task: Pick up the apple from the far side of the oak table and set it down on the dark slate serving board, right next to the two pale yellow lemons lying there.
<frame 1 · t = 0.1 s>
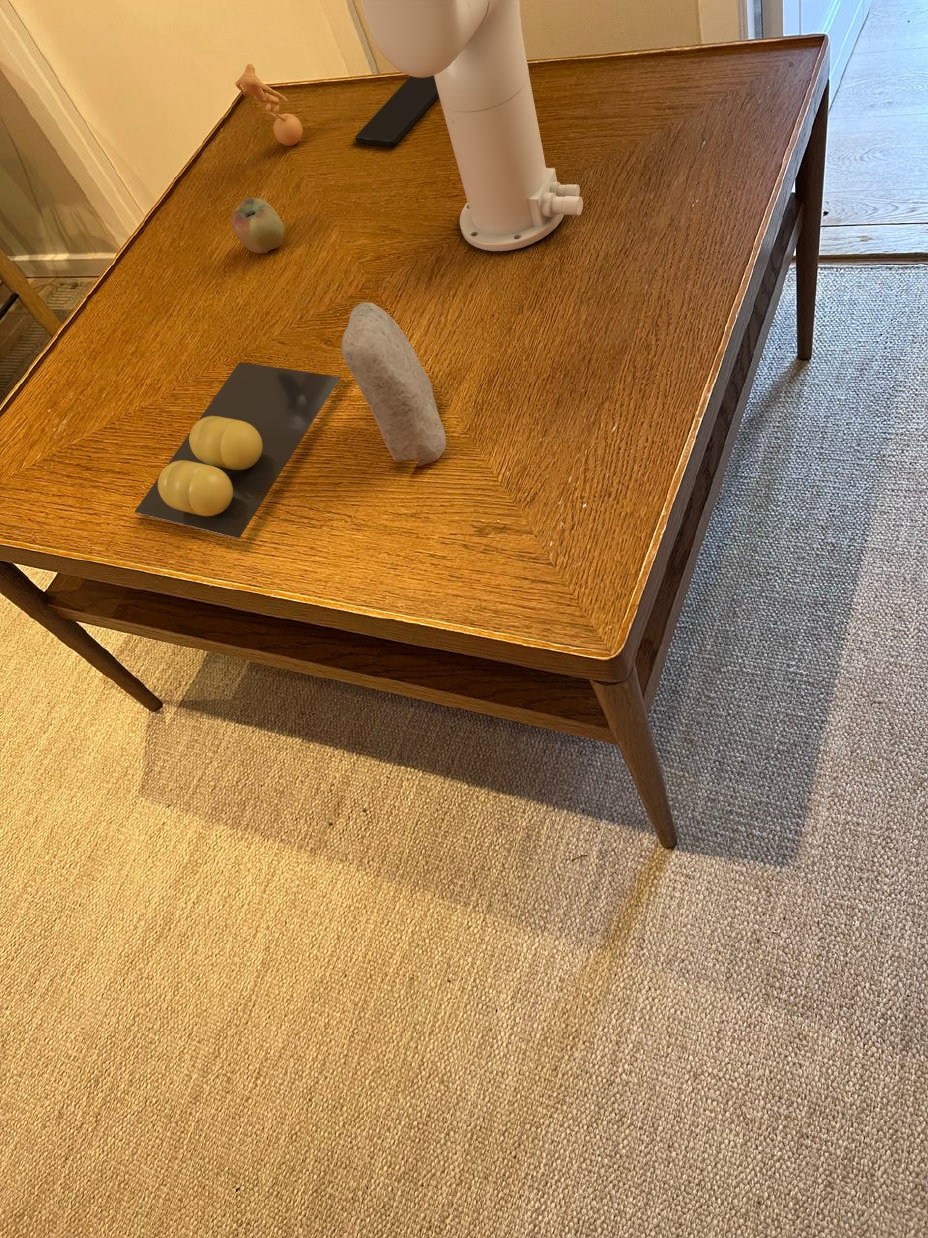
decorative stone: (418, 430, 93), on the table
lemon b: (236, 459, 95), point 1 cm above the table, touching serving board
smartphone: (404, 113, 125), on the table
figurine: (289, 148, 128), on the table
serving board: (245, 452, 97), on the table
apple: (265, 246, 117), on the table
lemon a: (207, 503, 92), point 1 cm above the table, touching serving board
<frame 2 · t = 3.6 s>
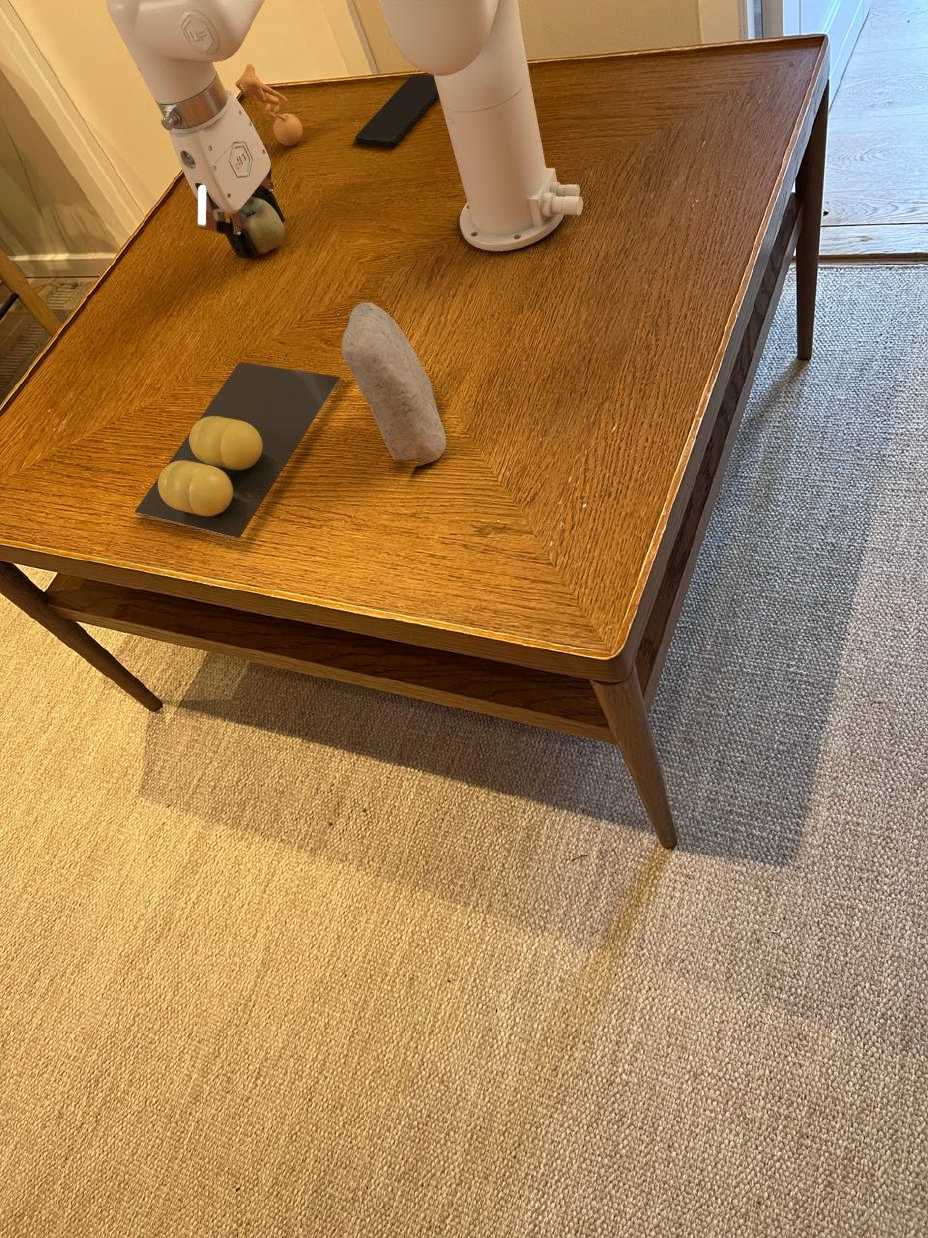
hand: (261, 237, 116), 1 cm above the table, tool pointing down, fingers closed on apple, 6 cm apart
apple: (265, 245, 117), on the table, touching gripper
everything else where it was.
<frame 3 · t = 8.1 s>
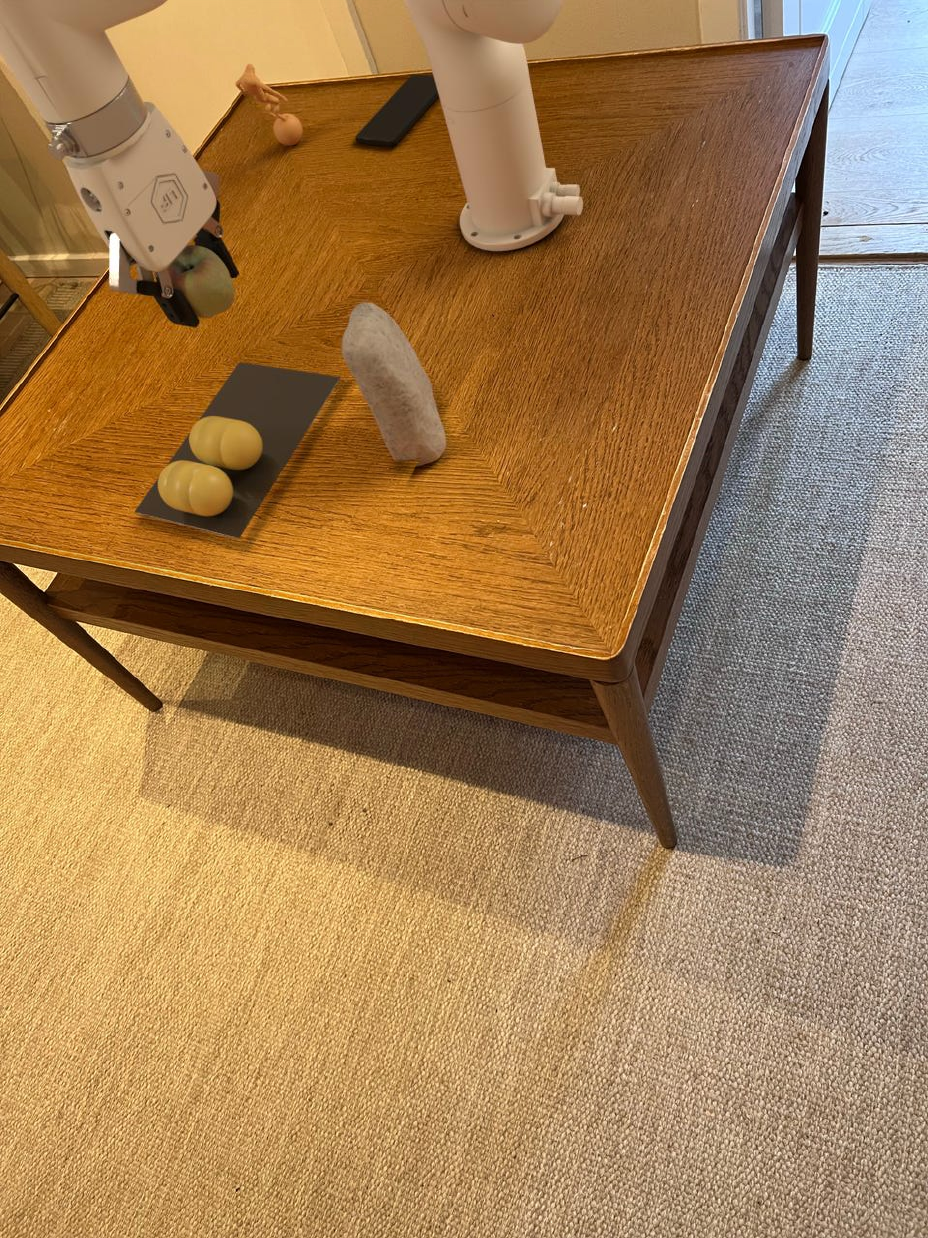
hand: (206, 297, 87), 15 cm above the table, tool pointing down, fingers closed on apple, 6 cm apart
apple: (212, 307, 88), point 14 cm above the table, touching gripper
everything else where it was.
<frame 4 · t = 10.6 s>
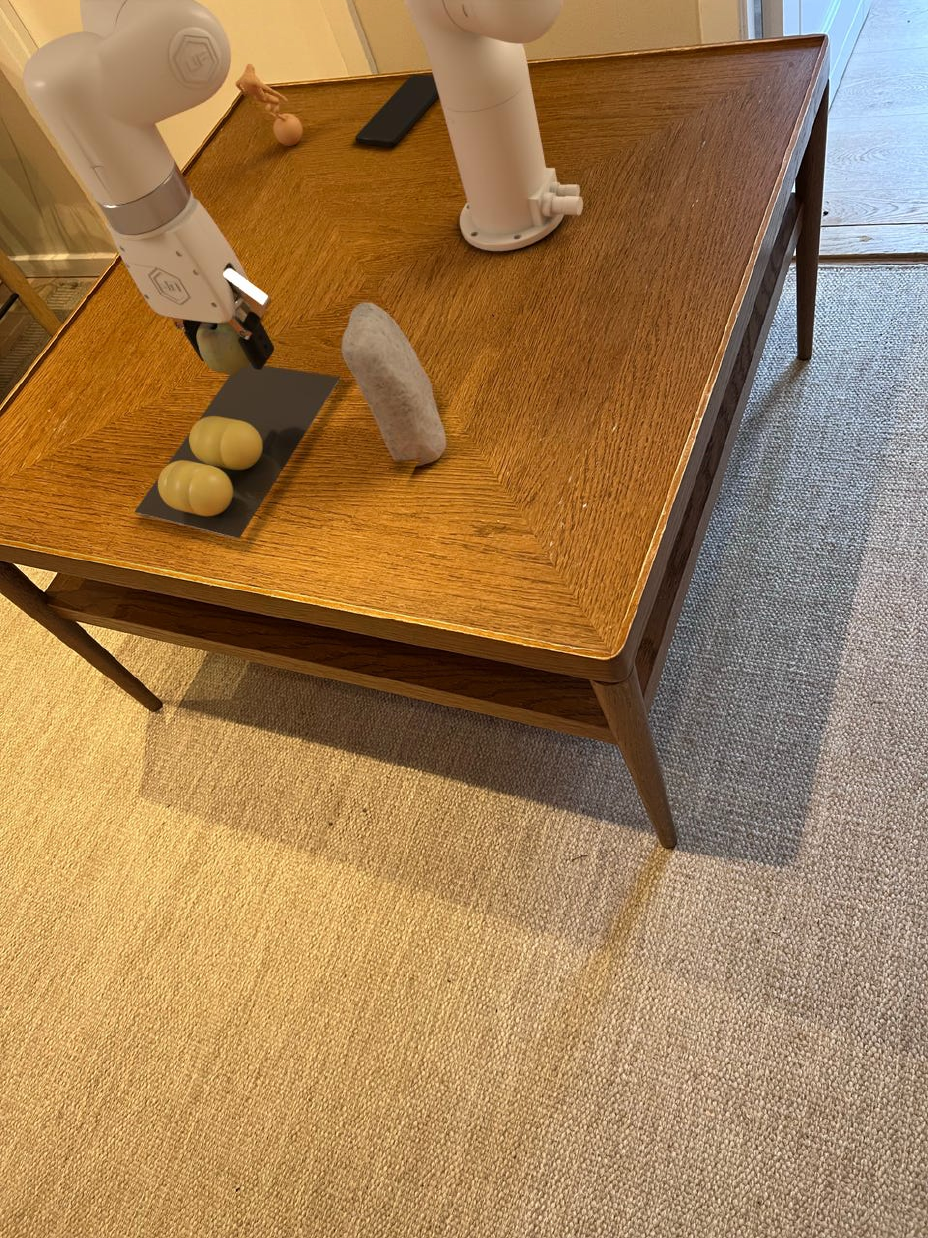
hand: (237, 354, 93), 8 cm above the table, tool pointing down, fingers closed on apple, 6 cm apart
apple: (246, 359, 94), point 7 cm above the table, touching gripper
everything else where it was.
when the fingers open (3 cm above the table, at t = 12.5 s): apple stays where it is, resting on serving board.
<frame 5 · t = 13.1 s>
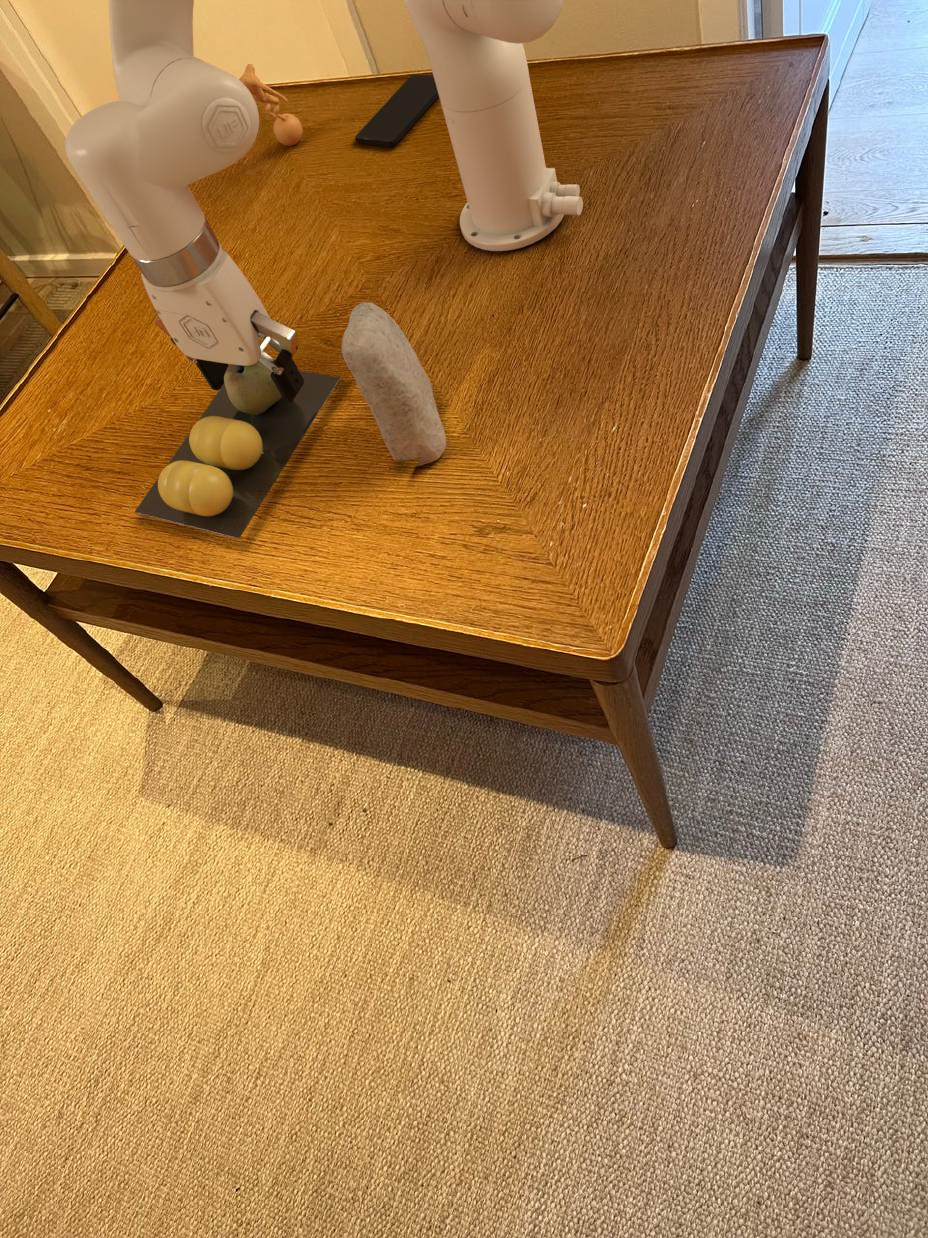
hand: (258, 386, 96), 4 cm above the table, tool pointing down, fingers open, 9 cm apart
apple: (270, 399, 99), point 1 cm above the table, touching serving board
everything else where it was.
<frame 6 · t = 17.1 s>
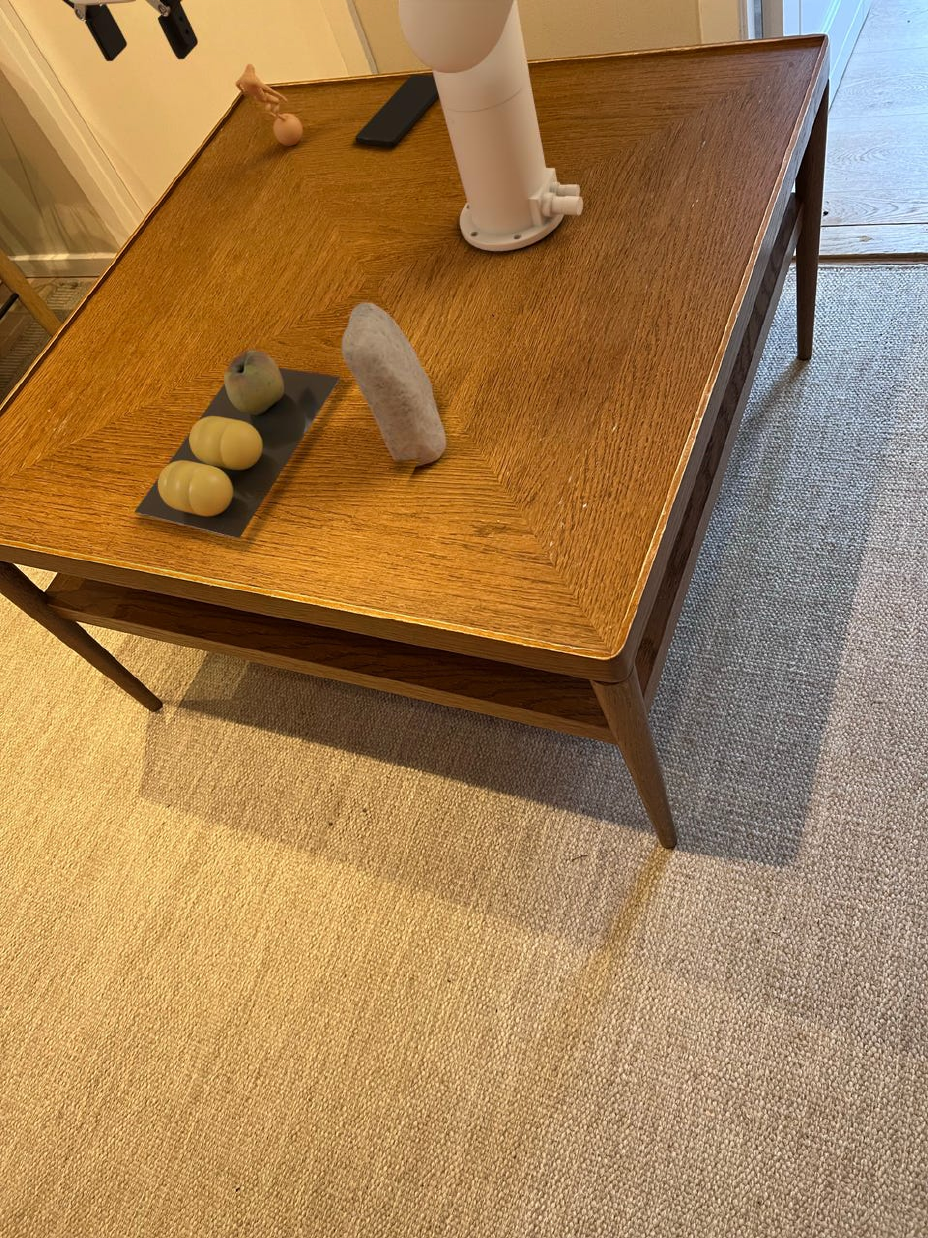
hand: (152, 52, 93), 26 cm above the table, tool pointing down, fingers open, 9 cm apart
nothing on the table moved.
at the end: apple inside the target area on the serving board (0.2 cm from its centre), point 1.3 cm above the serving board's base; apple 8.6 cm from the lemon b (horizontally); the gripper is holding nothing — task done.
